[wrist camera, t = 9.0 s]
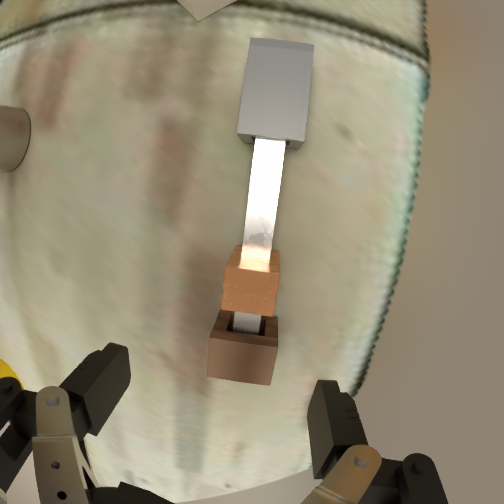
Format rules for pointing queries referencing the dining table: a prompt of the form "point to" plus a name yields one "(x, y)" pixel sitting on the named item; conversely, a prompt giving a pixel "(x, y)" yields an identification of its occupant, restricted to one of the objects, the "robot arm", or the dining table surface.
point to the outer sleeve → (276, 91)
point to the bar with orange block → (256, 244)
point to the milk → (203, 7)
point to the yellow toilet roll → (7, 371)
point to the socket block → (242, 351)
